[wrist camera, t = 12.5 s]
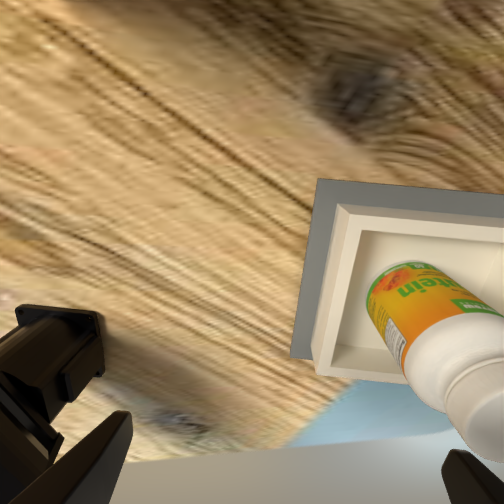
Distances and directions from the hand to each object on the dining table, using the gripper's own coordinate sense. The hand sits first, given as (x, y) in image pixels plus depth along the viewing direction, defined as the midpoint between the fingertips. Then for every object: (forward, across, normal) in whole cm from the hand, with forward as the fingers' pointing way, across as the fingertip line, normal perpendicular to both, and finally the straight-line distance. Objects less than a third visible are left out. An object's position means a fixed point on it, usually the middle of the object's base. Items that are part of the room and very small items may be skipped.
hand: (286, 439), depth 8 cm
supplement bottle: (+12, -9, +1) cm, 15 cm away
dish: (+12, -9, +1) cm, 15 cm away
